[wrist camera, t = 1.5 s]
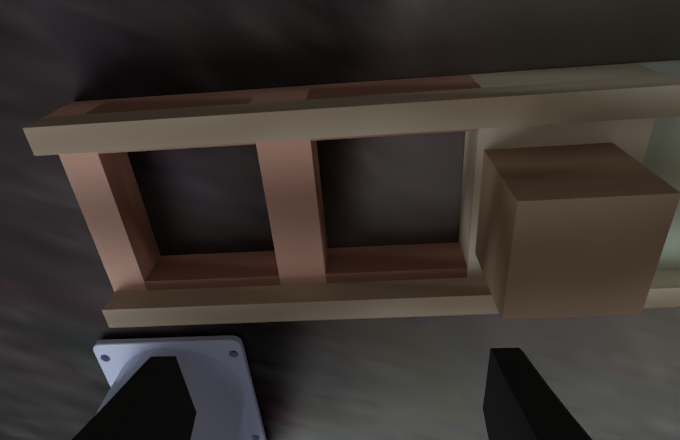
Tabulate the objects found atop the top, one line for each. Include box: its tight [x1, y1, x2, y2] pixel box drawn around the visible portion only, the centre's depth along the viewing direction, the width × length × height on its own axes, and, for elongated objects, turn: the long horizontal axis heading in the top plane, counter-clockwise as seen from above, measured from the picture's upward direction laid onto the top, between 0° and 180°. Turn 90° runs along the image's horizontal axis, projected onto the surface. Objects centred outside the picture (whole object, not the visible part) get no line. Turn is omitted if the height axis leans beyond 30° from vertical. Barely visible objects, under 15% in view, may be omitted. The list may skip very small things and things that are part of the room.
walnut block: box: [475, 142, 680, 320], centre depth 16 cm, size 4×4×4 cm
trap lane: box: [23, 60, 680, 328], centre depth 18 cm, size 9×30×4 cm, turn 94°
